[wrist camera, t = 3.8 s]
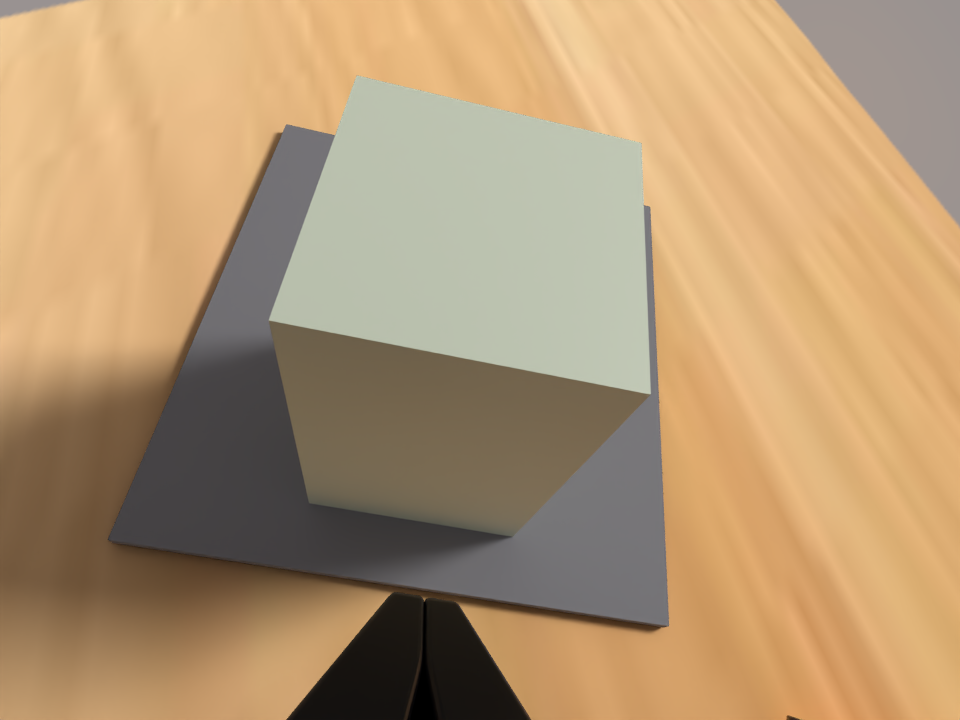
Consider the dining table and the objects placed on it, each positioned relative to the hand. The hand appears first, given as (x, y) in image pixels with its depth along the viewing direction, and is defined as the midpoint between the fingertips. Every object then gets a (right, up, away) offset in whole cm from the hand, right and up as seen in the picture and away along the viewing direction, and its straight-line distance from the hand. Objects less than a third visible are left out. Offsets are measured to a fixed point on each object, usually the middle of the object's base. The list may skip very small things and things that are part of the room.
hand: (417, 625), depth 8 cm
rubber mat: (0, +4, +10) cm, 11 cm away
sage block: (-1, +2, +8) cm, 8 cm away
